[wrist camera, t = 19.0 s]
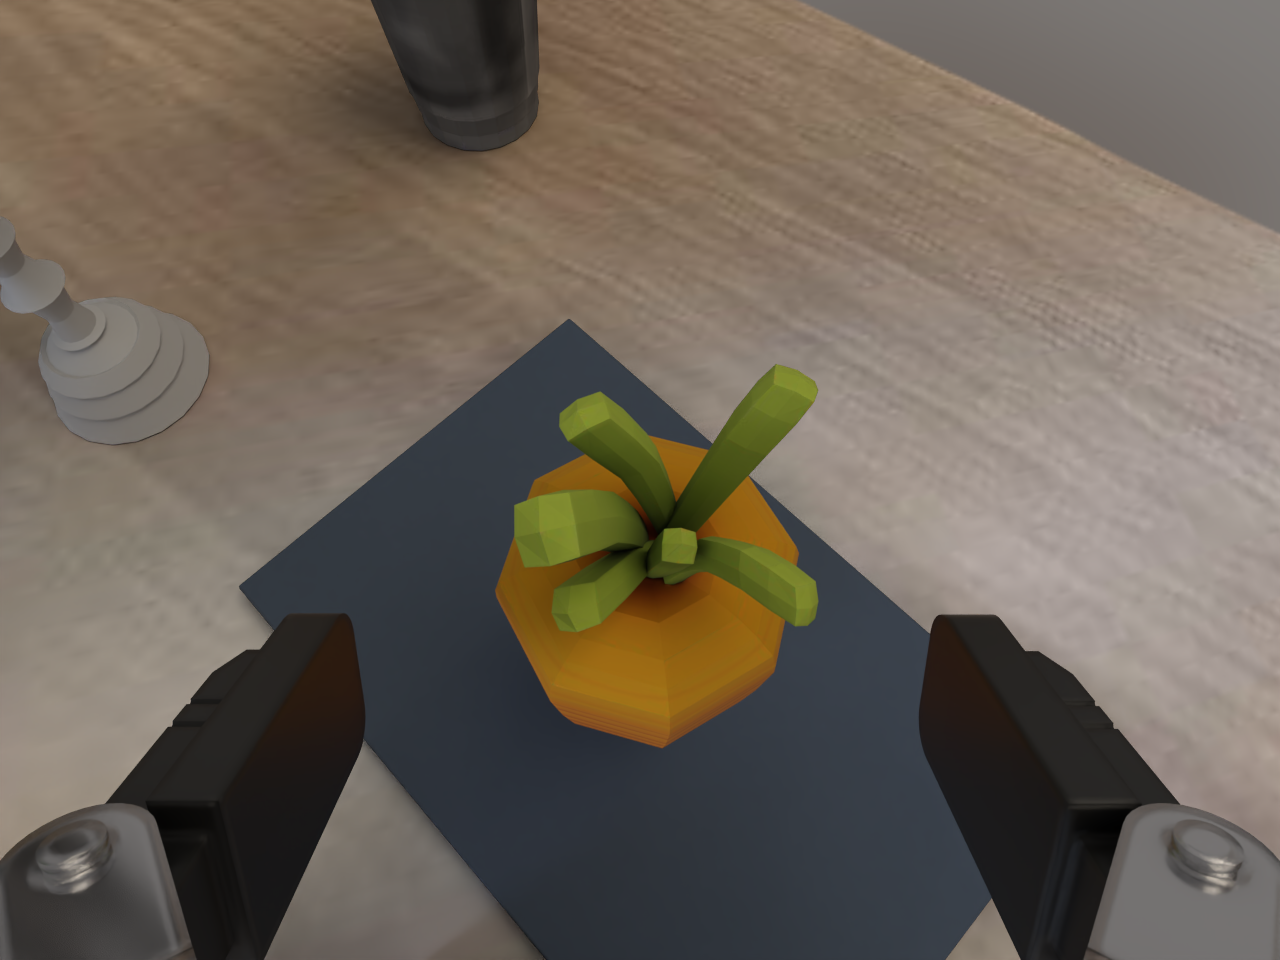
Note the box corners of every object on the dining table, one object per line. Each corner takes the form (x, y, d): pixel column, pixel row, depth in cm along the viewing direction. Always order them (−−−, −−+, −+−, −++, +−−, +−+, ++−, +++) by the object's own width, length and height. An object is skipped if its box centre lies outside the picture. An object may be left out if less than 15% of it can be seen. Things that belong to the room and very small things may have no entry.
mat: (249, 593, 24) (237, 585, 24) (571, 330, 28) (569, 317, 27) (751, 1199, 19) (755, 1213, 18) (1073, 773, 22) (1087, 771, 22)
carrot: (720, 583, 24) (829, 234, 10) (750, 764, 22) (940, 643, 8) (547, 605, 24) (414, 278, 10) (563, 789, 22) (425, 708, 8)
